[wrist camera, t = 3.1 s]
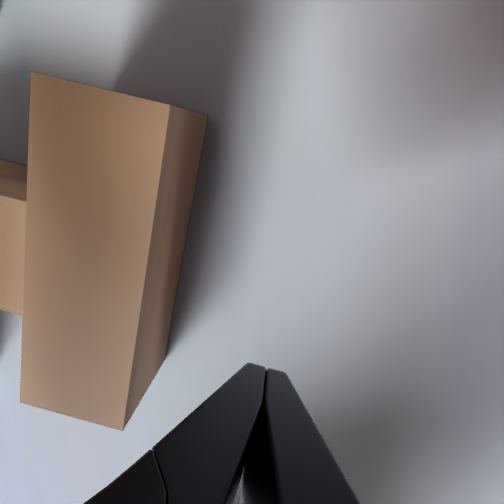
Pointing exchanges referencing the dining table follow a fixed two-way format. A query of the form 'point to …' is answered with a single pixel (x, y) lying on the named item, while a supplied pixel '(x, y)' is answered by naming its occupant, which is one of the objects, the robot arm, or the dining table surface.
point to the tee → (96, 244)
